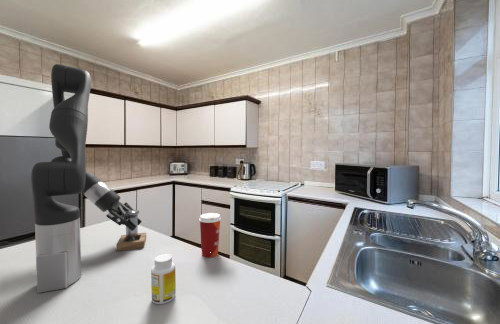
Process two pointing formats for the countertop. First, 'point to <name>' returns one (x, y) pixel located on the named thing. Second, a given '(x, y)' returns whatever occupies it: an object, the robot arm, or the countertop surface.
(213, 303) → the countertop surface
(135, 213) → the pin
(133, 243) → the collar block
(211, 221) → the paper cup
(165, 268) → the supplement bottle
